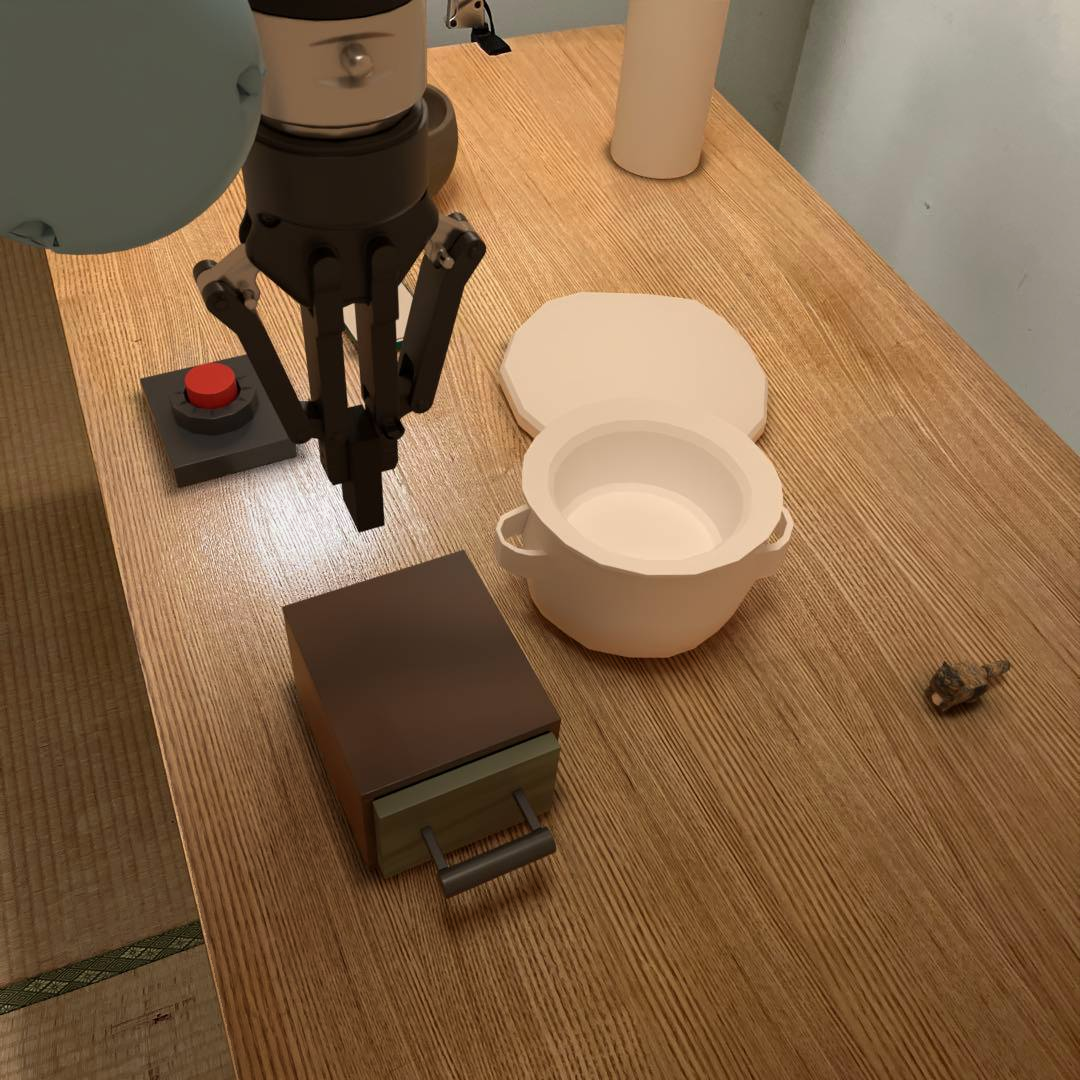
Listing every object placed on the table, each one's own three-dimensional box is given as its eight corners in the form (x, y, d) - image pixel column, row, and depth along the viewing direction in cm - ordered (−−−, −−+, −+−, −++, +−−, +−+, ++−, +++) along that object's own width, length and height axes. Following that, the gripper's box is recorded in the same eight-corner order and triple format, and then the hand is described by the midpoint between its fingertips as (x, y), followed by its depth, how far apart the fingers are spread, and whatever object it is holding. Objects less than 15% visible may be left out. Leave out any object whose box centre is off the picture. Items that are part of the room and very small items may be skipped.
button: (195, 414, 88) (191, 398, 87) (182, 385, 90) (179, 369, 89) (243, 403, 90) (240, 386, 88) (230, 374, 92) (227, 358, 91)
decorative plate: (501, 268, 104) (753, 280, 106) (499, 303, 107) (744, 315, 109) (499, 444, 88) (798, 456, 89) (497, 480, 91) (786, 491, 92)
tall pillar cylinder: (716, 157, 130) (762, -67, 112) (664, 189, 124) (704, -43, 106) (645, 125, 134) (679, -97, 116) (592, 154, 129) (618, -74, 110)
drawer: (582, 869, 67) (596, 808, 61) (411, 944, 63) (408, 888, 57) (467, 654, 77) (469, 585, 72) (314, 707, 73) (303, 639, 68)
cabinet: (549, 797, 71) (561, 718, 64) (368, 872, 67) (360, 796, 60) (461, 634, 80) (464, 549, 72) (296, 691, 75) (281, 606, 68)
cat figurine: (903, 695, 78) (931, 659, 76) (976, 672, 82) (1005, 638, 79) (928, 725, 77) (957, 690, 74) (1001, 700, 81) (1031, 666, 78)
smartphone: (302, 269, 109) (362, 360, 100) (301, 261, 108) (362, 351, 99) (376, 253, 112) (440, 339, 103) (375, 245, 111) (440, 331, 102)
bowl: (334, 141, 126) (327, 56, 119) (478, 172, 124) (480, 86, 117) (270, 215, 115) (258, 126, 108) (427, 250, 113) (427, 161, 105)
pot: (737, 503, 91) (771, 392, 82) (798, 672, 79) (845, 564, 70) (478, 517, 88) (483, 403, 79) (503, 695, 76) (512, 586, 67)
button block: (177, 488, 87) (168, 452, 85) (144, 397, 94) (134, 361, 91) (297, 456, 91) (292, 420, 88) (256, 371, 98) (250, 335, 95)
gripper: (182, 169, 37) (265, 596, 55) (523, 114, 42) (499, 527, 59) (138, 73, 42) (228, 497, 59) (451, 33, 46) (448, 439, 63)
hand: (363, 511), depth 59 cm, fingers closed
